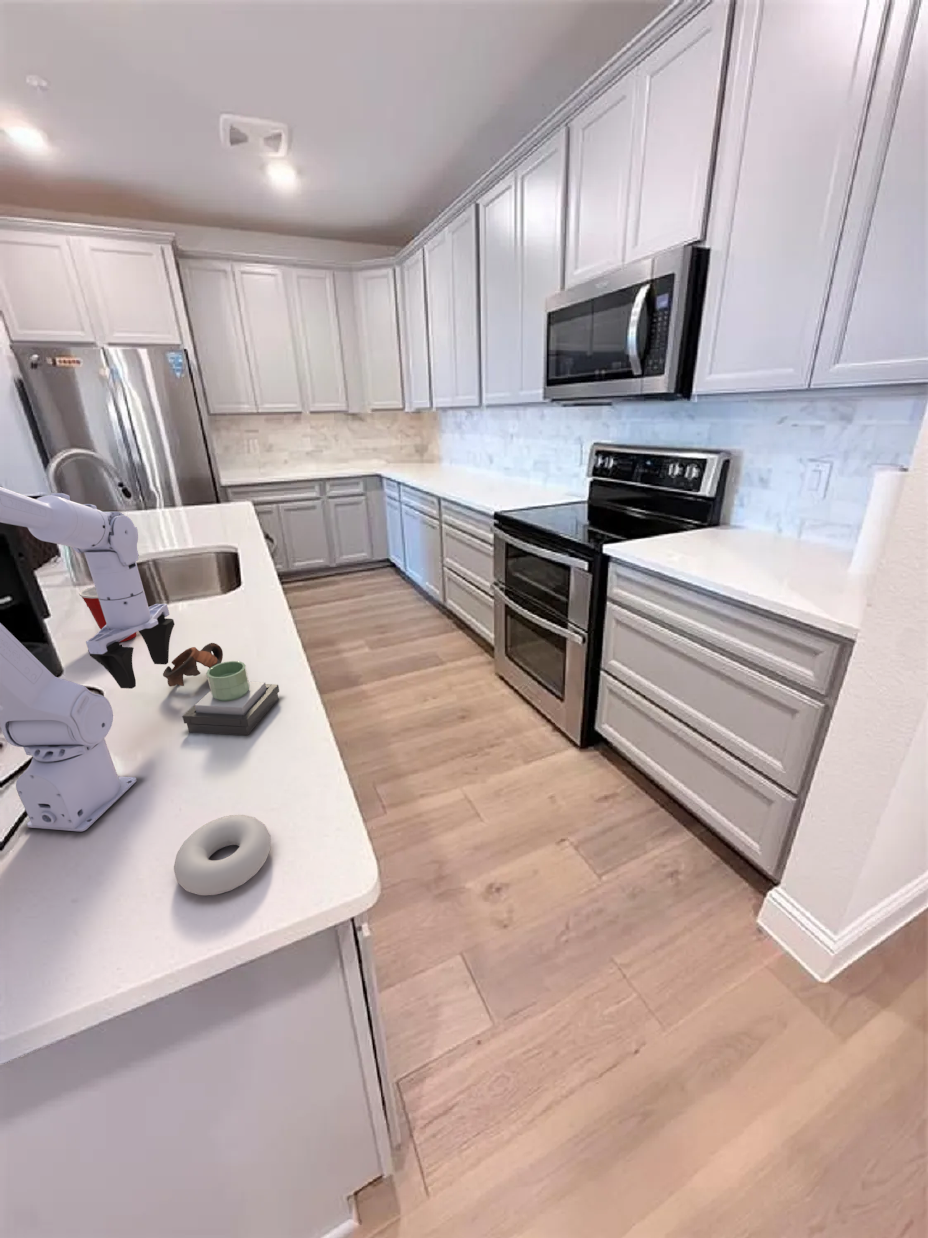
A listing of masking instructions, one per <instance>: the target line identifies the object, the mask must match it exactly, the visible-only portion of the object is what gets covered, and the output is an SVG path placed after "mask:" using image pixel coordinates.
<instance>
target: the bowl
mask: <svg viewBox="0 0 928 1238" xmlns="http://www.w3.org/2000/svg"><path fill="white" fill-rule="evenodd" d="M205 674H206V678H207V682H208V686H209V692H210V691H211V695H212V696H213V698H215V699H217V700H219V701H231V700H235V699H238V698H240V697H242V696H244V695H245V694H246V693H247V691H248V690H249V688H250V684H249V682H250V679H249V674H248V670H247V666H246V664H245V663H244V662H242V661H240V660H230V661H222V662H221V663H220V664H217V665H215V666H213V667H211V668H210V669H209V668H208V669H207V671H206V673H205Z"/></svg>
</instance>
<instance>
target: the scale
mask: <svg viewBox="0 0 928 1238" xmlns="http://www.w3.org/2000/svg"><path fill="white" fill-rule="evenodd" d="M265 684H266V689H267V690H266V691H265V692H264V693H263V695H262V696H261V697H260V698H259V699H258V700H257V701H256V702H255V703H254V704H253V706H252V707H251V708H250V709H249V710H248V711H247V712H246V713H245V714H244V715H232V714H212V713H197V712H196V708H195V704H197V703H198V702H199V701H197V702H196V703H195V704H194V705H193V706H192V707H191V708H189V710H187V711H186V712H185V713H184V714H183V715H182V716H181V717H182V720H183V724H186V726H187V730H188V732H189V733H198V734H216V735H217V734H219V735H235V736H249V734H251V732H252V731H253V730H254V729H255V728H256V726H258V724H259V723H260V721H261V720H262V719H263V718H264V717H265V715H266V714H267V713H268V712H269V711H270V710H271V709H272V707H273V706H274V705H275V704H276V703H277V701H278V700H279V694H278V693H280V686H279V684H276V683H265ZM209 692H210V691H208V692H207V693H206V694H208V693H209Z"/></svg>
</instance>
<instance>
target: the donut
mask: <svg viewBox="0 0 928 1238" xmlns="http://www.w3.org/2000/svg"><path fill="white" fill-rule="evenodd" d="M229 846H238V848H237V849H236V850H235V851H234V852H233V853H232V854H229V855H228V856H226V857H224V858H220V859H217V860H211V859H210V858H211V856H212V855H213V854H214V853H216V852H217V851H218V850H221V849H223V848H225V847H229ZM270 851H271V834H270V831H269V829H268V827H267V826H266V824H265V823H263V822H262V821H261V820H260V819H258V818H256V817H255V816H251V815H247V814H231V815H226V816H222V817H217V818H216V819H213V820H211V821H208V822H207V823H205V824H203V825H202V826H201V827H199V828H197V829H196V830H194V831H193V833H191V834H190V835H189V836H188V837H187V838H186V839H185V840H184V841H183V843H182V844H181V846H180V847H179V849H178V851H177V853H176V855H175V860H174V863H173V871H174V875H175V879H176V881H177V883H178V884H179V886H181V887H182V888H183V889H184V890H185V891H186V892H188V893H192V894H195V895H198V896H217V895H220V894H223V893H227V892H231V891H232V890H234V889H237V888H238V887H241V886H242V885H244V884H245V883H247V882H248V881H249V880H250V879H252V878H253V877H254V876H255V875H256V874H257V873H258V872H259V871H260V870H261V868H262V867H263V866H264V865H265V863H266V861H267V858H268V856H269V854H270Z"/></svg>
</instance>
